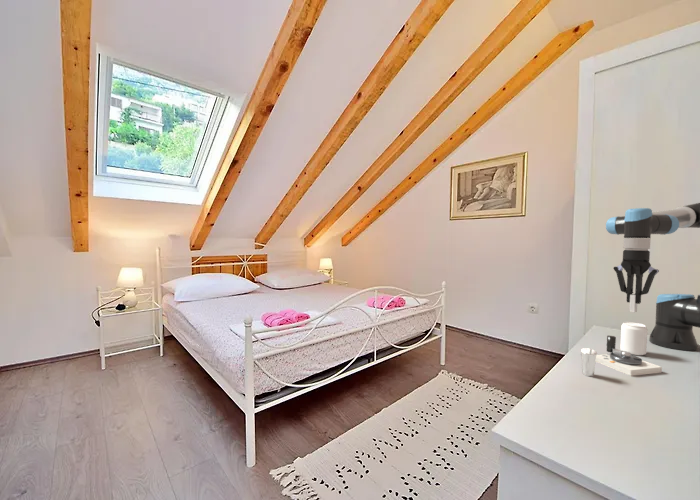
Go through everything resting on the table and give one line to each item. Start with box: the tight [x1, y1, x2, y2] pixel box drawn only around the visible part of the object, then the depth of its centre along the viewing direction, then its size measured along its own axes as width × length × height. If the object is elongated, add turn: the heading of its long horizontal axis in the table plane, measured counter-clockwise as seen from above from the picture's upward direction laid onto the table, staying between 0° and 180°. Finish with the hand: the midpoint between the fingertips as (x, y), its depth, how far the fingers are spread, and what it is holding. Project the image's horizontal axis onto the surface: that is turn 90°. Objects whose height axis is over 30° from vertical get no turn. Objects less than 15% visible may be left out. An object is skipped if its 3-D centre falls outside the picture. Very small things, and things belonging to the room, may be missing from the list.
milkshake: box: [580, 347, 598, 377], centre depth 110 cm, size 4×5×10 cm
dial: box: [606, 335, 643, 365], centre depth 119 cm, size 11×9×7 cm
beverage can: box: [619, 321, 648, 356], centre depth 132 cm, size 8×8×12 cm
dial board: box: [596, 352, 663, 377], centre depth 118 cm, size 14×14×2 cm
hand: (633, 311), depth 120 cm, fingers closed
